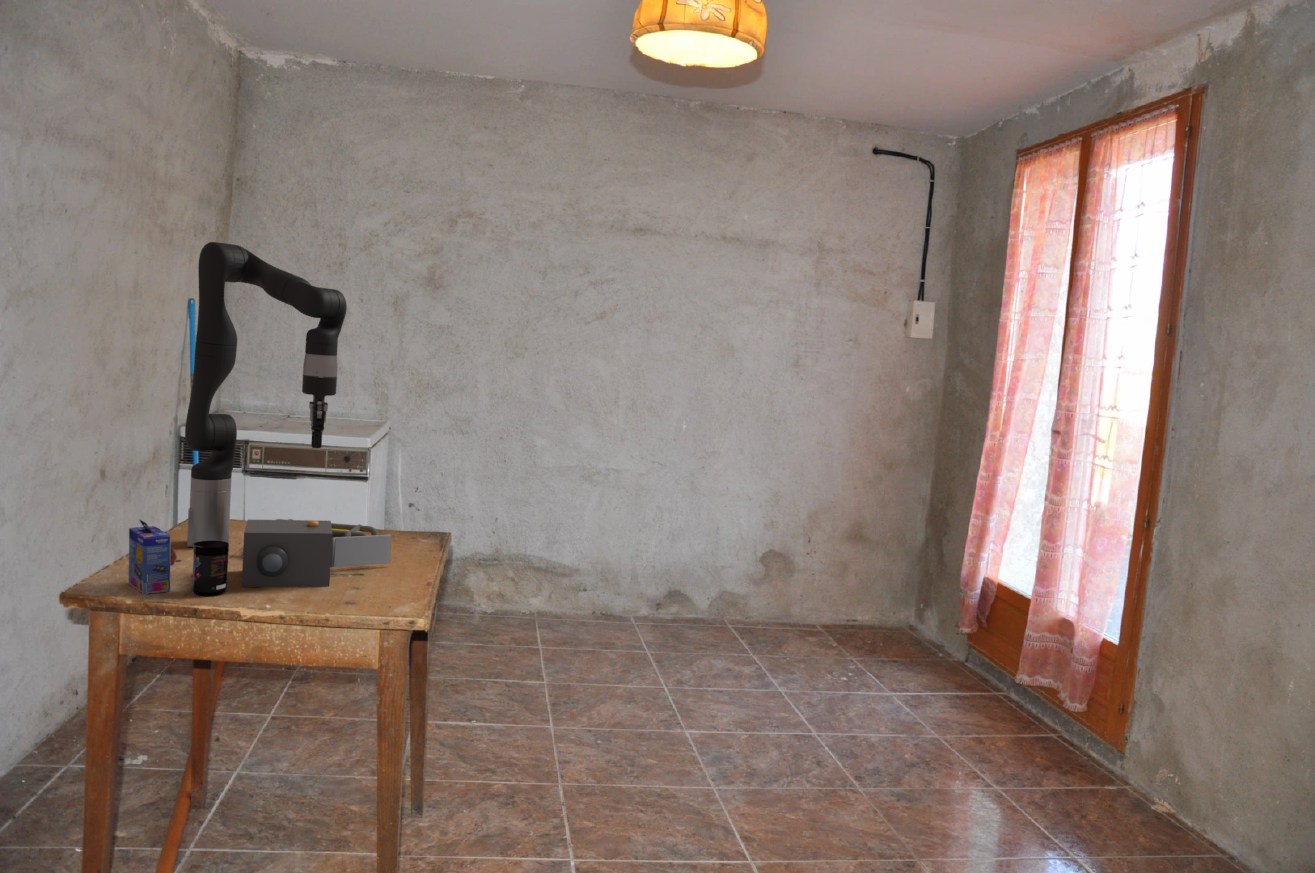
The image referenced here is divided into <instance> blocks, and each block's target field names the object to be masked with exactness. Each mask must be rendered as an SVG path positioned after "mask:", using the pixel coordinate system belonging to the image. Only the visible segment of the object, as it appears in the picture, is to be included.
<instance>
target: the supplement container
mask: <svg viewBox="0 0 1315 873" xmlns="http://www.w3.org/2000/svg"><path fill="white" fill-rule="evenodd" d="M229 548H230V542H229V543H227V542H224V541H200V542H196V543H194V547H193V554H192V555H193V558H192V583H191V584H192V586H191V591H192V593H193V594H194V595H196V596H200V597H215V596H221V595H222V594H223V595H224V594H225V593H226V592H227V588H228V572H229V570H228V567H229V553H230V552H229V551H230V550H229Z"/></svg>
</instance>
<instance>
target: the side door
mask: <svg viewBox="0 0 1315 873" xmlns="http://www.w3.org/2000/svg"><path fill="white" fill-rule="evenodd" d="M391 550H392V534H381V535H379V534H378V535H374V536H372V535H368V536H354V537H335V538H334V537H332V547H331V565H330V568H340V567H352V566H353V567H354V566H367V565H368V566H369V565H371V566H372V565H383V564H385V565H386V564H391Z"/></svg>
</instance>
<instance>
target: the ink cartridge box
mask: <svg viewBox="0 0 1315 873" xmlns="http://www.w3.org/2000/svg"><path fill="white" fill-rule="evenodd" d="M139 522H140V524H141V526H140V527H139V526H138V527H136V526H135V527H129V528H128V537H129V538H128V546H129V547H128V585H130V584H131V585H132V586H131V585H130V586H131V587H133V588H134V589H135V588H136V589H135V590H136V591H137V592H139V593H141V592H142V593H143V594H142V593H141V594H142V595H150V594H149V593H152V594H158V593H157V592H161V593H168V592H170V591H171V534H169V533H167V532H166V531H164V530H161V528H158V527H157V526H155V525H153V526H149V525H148V524H147V522H146V521H143V520H141V519H139Z"/></svg>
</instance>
